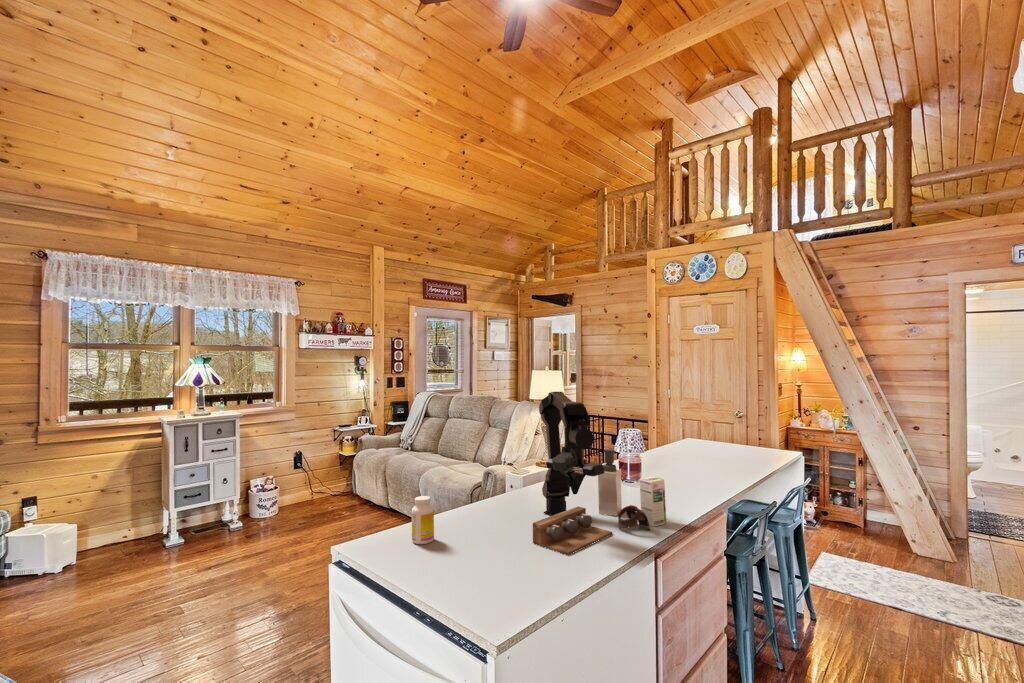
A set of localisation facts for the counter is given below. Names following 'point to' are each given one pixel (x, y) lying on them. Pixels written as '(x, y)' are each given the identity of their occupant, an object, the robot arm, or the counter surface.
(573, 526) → the knob middle
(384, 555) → the counter surface
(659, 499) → the syrup box
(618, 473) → the soap dispenser
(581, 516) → the knob far
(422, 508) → the supplement bottle
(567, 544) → the panel
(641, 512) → the pottery mug
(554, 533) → the knob near
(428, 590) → the counter surface
